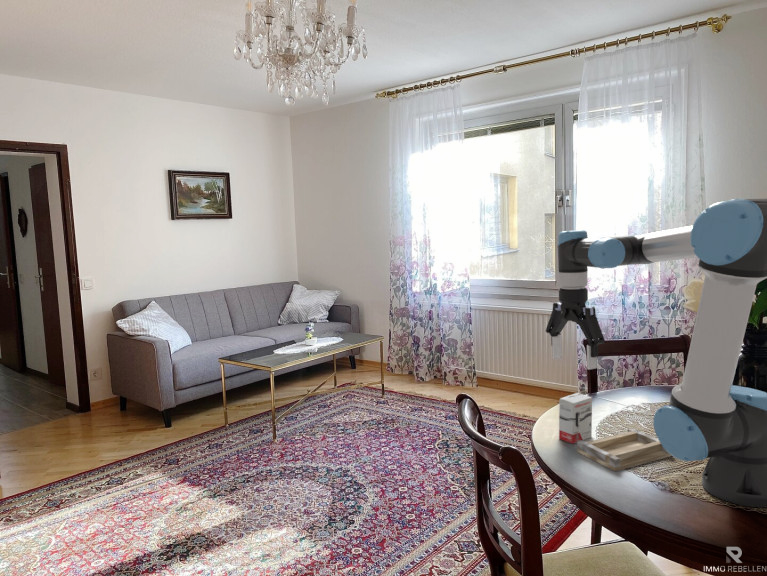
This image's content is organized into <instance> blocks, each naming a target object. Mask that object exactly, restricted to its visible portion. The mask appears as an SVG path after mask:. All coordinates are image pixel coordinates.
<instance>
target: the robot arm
mask: <svg viewBox="0 0 767 576" xmlns="http://www.w3.org/2000/svg"><path fill="white" fill-rule="evenodd" d="M557 238H558V239H557V240H558V241H557V257H558V261H557V262H558V263H557V265H558V266H557V267H558V268H557V269H558V278H557V279H558V281H557V282H558V287H560V288H559V289H558V300H559V301H558V302H557V301H556V302H553V304H552V309H551V310H552V311H551V314H550V316H549V319H548V323H547V325H546V328H545V332H546V333H547V334H549V336H550V337H551V338H550V339H551V340H550V341H551V345H550V346H551V347H552V360H560V359H563V358H562V357H563V352H562V351H563V349H562V347H563V346H562V343H563V341H562V334H561V332H562V331H563V329H564V328H565V327H566V325H567V323H568V322H570V321H571V322H572V323H575V324H576V325H578V326H579V327H580V330H581V332H582V333H583V335H584V337H585V339H586V340H587V345H586V369H587V370H594V369H597V368H598V357H599V346H600V345H601V344H605V342H606V339H605V337H604V334H603V332H602V329H601V326H600V324H599V320H598V318H597V313H596V307H594V306H590V307H587V306H586V302H588V300H589V295H588V294H589V289H588V287H587V286H588V267H589V268H599V269H614V268H617V267H621V266H623V267H624V266H632V265H649V264H653V263H661V262H668V261H669V262H670V261H678V260H687V259H696V258H698V259H699V261H698V265H697V266H698V268H699V269H700V271H701V272H702V273H703V275H704V279H703V284H702V288H701V292H700V293H701V294H700V298H699V302H698V306H697V312H696V318H695V322H694V326H693V329H692V330H693V331H692V336H691V340H690V345H689V350H688V354H687V360H686V363H685V368H684V372H683V377H682V381H681V383H680V384H677V385H675V386H674V387H673V388H672V390H671V392H670V393H671V394H670V399H669V402H668V404H665V405H662V406H661V407H660V408H658V409H656V411H655V413H654V416H653V420H652V421H653V422H652V423H653V430H654V432H655V433H654V434H655V436H656V438H657V439H659V441H660V443H661V445H662V446H663V447H664V449H665V450H666V451H667V452H668V453H669V454H671V455H672V456H671V457H673V458H675V459H677V460H679V461H682V462H695V461H704V460H706V459H708V460H707V462H706V465H705V467H704V469H703V471H702V476H701V478H702V479H701V485H702V487H703V488H704V490H705V491H707V492H708V493H709V494H710V495H712V496H714V497H716V498H717V499H720V500H722V501H726V502H728V503H732V504H734V505H739V506H745V507H751V508H767V392H766V391H762V390H761V389H760V390H759V389H756V388H751V387H745V386H739V385H734V384H733V383H734V382H733V381H734V378H735V375H736V369H737V367H738V362H739V358H740V353H741V350H742V346H743V340H744V338H745V333H746V329H747V325H748V321H749V317H750V313H751V309H752V305H753V301H754V297H755V294H756V293H755V292H756V289H757V285H758V284H759V283H760V282H762V281H763V280H766V279H767V198H733V199H729V200H723V201H718V202H716V203H713V204H711V205H709V206H708V207H706V208H704V210H703V211H701V212H700V214H699V215H698V216H697V218H696V219H695V220H694V223H693V224H692V225H688V226H684V227H683V226H682V227H678V228H671V229H665V230H661V231H655V232H650V233H644V234H639V235H638V234H637V235H628V236H626V235H625V236H610V237H609V236H607V237H588V232H587V231H586V230H563V231H560V232H559V233H558V237H557Z"/></svg>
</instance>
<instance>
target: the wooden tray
mask: <svg viewBox="0 0 767 576" xmlns="http://www.w3.org/2000/svg"><path fill="white" fill-rule="evenodd" d="M576 449H577V451H578V452H577V453H579V454H581V455H583V456H584V455H585V457H586V458H588V457H589V458H588V459H590V460H592V461H594V462H597V463H599V464H600V465H601V466H604V467H606V468H608V469H610V470H611V471H613V472H618V471H623V470H626V469H630V468H633V467H637V466H640V465H643V464H647V463H651V462H655V461H659V460H662V459H666V458H669V457H673V456H672V455H671V454H669V453H668V452H667V451H666V450H665V449H664V447H663V446H662V445H661V443H660V441H659V439H658V437H655V436H652V435H649V434H647V433H646V432H645V433H644V432H643V431H640V430H638V429H635V428H633V427H631V428H627V432H624V433H619V434H616V435H611V436H607V437H602V438H598V439H594V440H589V441H585V440H579V441H577V448H576Z"/></svg>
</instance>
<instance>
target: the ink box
mask: <svg viewBox="0 0 767 576" xmlns="http://www.w3.org/2000/svg"><path fill="white" fill-rule="evenodd" d="M558 414H559V415H558V417H559V424H558V426H559V427H558V439H559V440H561V441H564V442H567V443H570V444H571V445H574V444H576V442H577V441H579V440H583V441H585V440H587V439H589V438H591V437H592V436H593V435H592V431H593V427H592V426H593V425H592V424H593V423H592V422H593V421H592V419H593V397H591V396H589V395H585V394H583V393H580V392H575V393H573V394H570V395H566V396H564V397H560V398H559V413H558Z"/></svg>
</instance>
